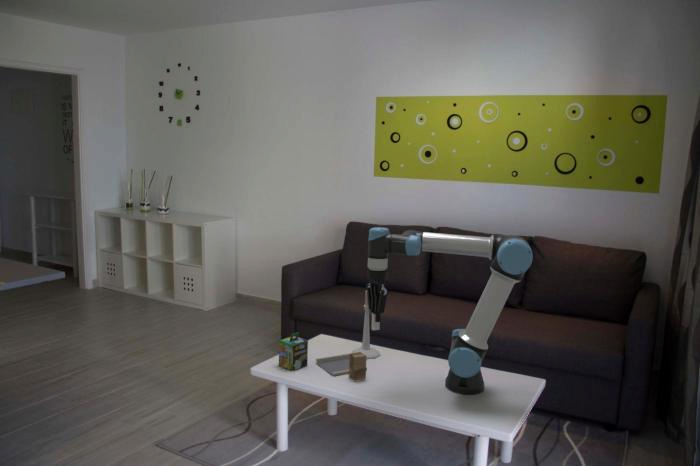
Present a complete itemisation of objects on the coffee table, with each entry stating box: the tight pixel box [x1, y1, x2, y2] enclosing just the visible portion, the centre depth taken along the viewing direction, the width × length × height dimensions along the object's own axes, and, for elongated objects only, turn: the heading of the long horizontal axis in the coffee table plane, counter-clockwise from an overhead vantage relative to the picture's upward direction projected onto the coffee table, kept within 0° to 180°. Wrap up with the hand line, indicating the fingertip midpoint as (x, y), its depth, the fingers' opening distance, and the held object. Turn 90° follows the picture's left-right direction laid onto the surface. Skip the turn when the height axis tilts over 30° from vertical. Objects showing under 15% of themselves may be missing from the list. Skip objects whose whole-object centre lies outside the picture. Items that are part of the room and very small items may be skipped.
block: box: [348, 352, 367, 382], centre depth 233 cm, size 5×5×10 cm
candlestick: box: [351, 290, 381, 360], centre depth 261 cm, size 13×13×30 cm
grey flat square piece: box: [315, 353, 368, 377], centre depth 246 cm, size 16×16×2 cm
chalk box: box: [278, 331, 309, 372], centre depth 245 cm, size 9×9×15 cm
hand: (375, 329), depth 220 cm, fingers closed
